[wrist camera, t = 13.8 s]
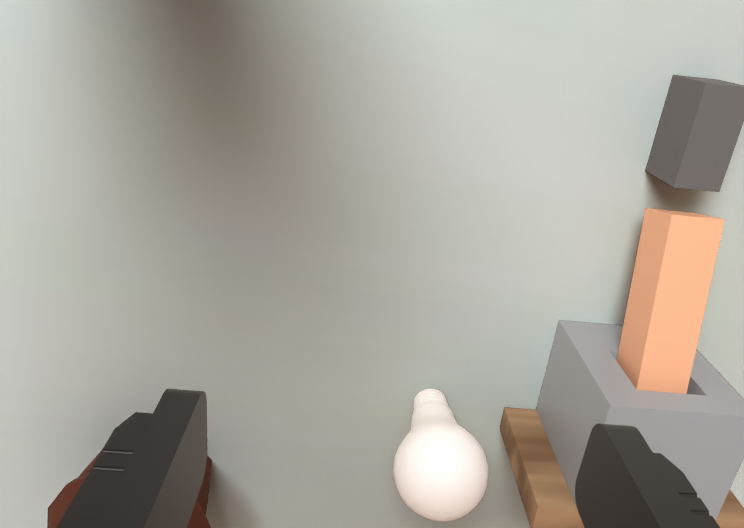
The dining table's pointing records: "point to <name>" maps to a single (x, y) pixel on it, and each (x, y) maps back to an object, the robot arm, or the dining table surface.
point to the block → (640, 411)
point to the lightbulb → (439, 462)
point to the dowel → (668, 298)
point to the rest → (697, 133)
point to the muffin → (59, 506)
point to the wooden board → (559, 476)
